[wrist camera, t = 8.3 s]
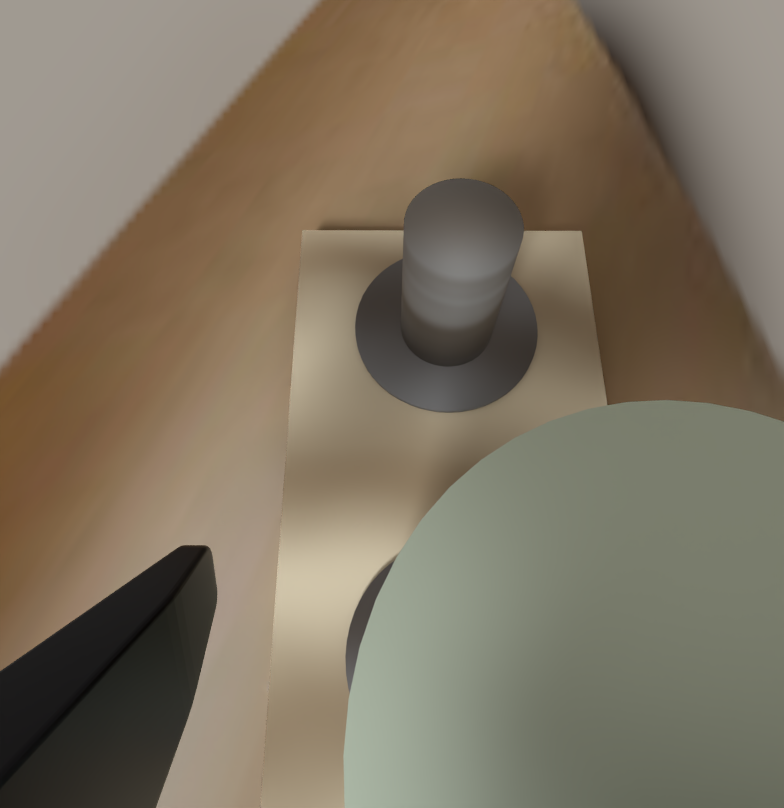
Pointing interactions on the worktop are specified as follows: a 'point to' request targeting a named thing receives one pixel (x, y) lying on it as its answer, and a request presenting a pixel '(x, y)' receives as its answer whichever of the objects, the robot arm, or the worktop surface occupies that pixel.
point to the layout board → (403, 427)
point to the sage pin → (586, 624)
